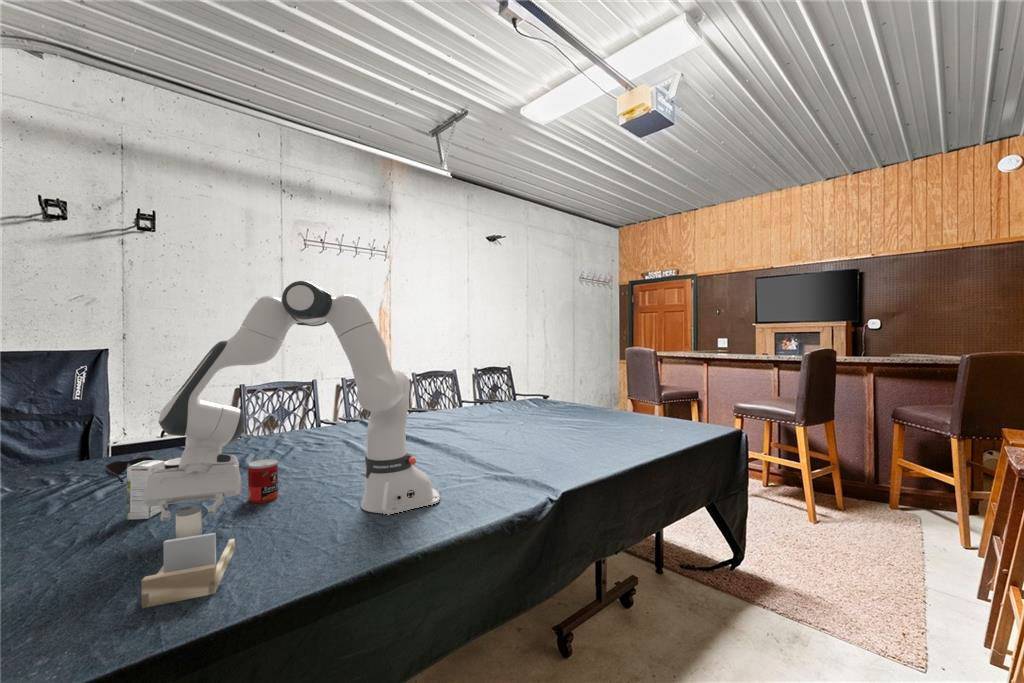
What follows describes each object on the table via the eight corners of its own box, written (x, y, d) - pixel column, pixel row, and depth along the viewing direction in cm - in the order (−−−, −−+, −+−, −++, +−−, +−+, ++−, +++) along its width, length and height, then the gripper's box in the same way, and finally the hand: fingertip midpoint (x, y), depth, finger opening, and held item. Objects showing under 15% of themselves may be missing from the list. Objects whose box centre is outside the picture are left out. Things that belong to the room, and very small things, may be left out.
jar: (204, 532, 107) (203, 504, 107) (198, 540, 102) (198, 511, 102) (179, 535, 105) (179, 507, 105) (172, 544, 100) (172, 515, 100)
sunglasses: (152, 467, 161) (151, 454, 161) (165, 475, 152) (165, 461, 152) (103, 477, 150) (102, 463, 150) (114, 486, 141) (113, 471, 141)
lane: (176, 559, 93) (176, 536, 93) (234, 549, 98) (234, 527, 98) (141, 608, 76) (141, 580, 76) (214, 593, 81) (214, 567, 81)
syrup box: (142, 511, 119) (142, 460, 119) (165, 510, 120) (164, 459, 120) (126, 520, 114) (125, 466, 114) (149, 519, 114) (149, 465, 114)
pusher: (165, 580, 84) (165, 540, 84) (216, 571, 87) (215, 532, 87) (163, 583, 83) (163, 542, 83) (215, 573, 86) (214, 534, 86)
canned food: (265, 504, 124) (264, 467, 124) (241, 502, 126) (241, 465, 126) (284, 495, 132) (283, 459, 132) (261, 493, 133) (261, 458, 133)
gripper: (147, 464, 106) (130, 518, 97) (242, 455, 114) (234, 504, 105) (154, 476, 110) (138, 529, 102) (245, 467, 118) (238, 515, 110)
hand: (188, 516), depth 104 cm, fingers open, 8 cm apart
